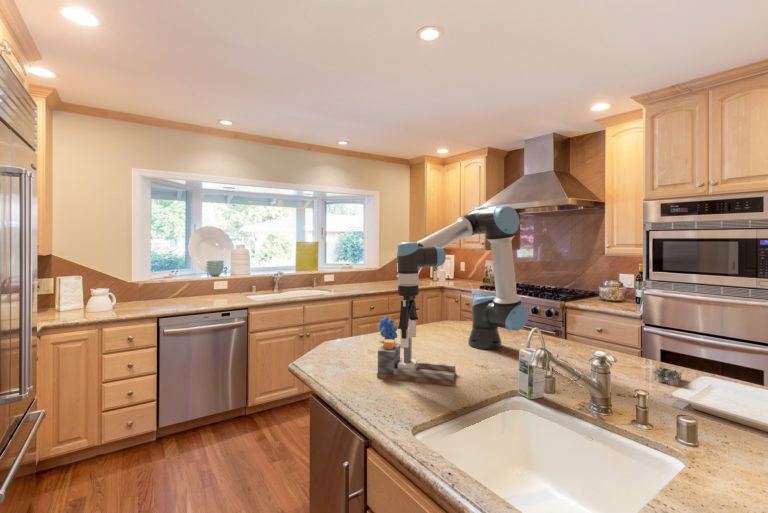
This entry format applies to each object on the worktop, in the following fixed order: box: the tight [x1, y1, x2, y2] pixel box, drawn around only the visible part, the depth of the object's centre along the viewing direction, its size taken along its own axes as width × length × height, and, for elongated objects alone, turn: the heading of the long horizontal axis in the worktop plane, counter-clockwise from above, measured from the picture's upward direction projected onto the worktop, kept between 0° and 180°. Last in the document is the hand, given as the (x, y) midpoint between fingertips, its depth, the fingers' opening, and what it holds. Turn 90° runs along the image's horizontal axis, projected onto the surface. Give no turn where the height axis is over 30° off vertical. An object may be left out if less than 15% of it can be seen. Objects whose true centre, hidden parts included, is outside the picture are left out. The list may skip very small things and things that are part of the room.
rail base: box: [376, 343, 457, 386], centre depth 138 cm, size 27×12×10 cm, turn 74°
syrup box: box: [517, 347, 545, 400], centre depth 121 cm, size 6×6×14 cm
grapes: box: [378, 316, 398, 341], centre depth 183 cm, size 12×7×12 cm, turn 49°
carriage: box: [398, 337, 418, 370], centre depth 139 cm, size 6×7×12 cm
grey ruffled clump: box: [653, 366, 683, 386], centre depth 135 cm, size 10×7×4 cm
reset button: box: [382, 339, 396, 349], centre depth 141 cm, size 4×4×3 cm
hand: (408, 341), depth 139 cm, fingers open, 13 cm apart
